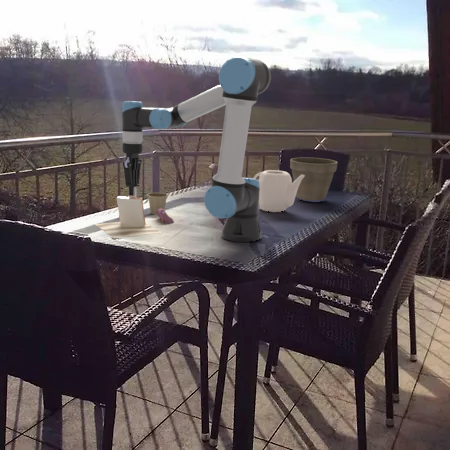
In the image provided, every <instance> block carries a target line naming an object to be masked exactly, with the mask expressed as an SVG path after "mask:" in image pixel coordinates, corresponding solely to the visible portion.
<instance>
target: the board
mask: <svg viewBox="0 0 450 450" xmlns="http://www.w3.org/2000/svg"><path fill="white" fill-rule="evenodd" d="M94 225H95V226H96V227H97V228H99V229H100V230H101V231H103V232H104V233H106V234H107V235H108V236H111V237H110V238H111V239H112V240H113V241H114V240H115V241H116V239H118V240H120V238H127V237H135V236H145V235H153V234H162V232H161V231H160V230H158V229H156V228H154V227H152V226H151V225H149V224H147V223H146V225H145V226H144V227H141V226H131V225H121V223H120V221H115V222H104V223H95V224H94Z"/></svg>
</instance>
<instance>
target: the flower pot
mask: <svg viewBox="0 0 450 450" xmlns="http://www.w3.org/2000/svg"><path fill="white" fill-rule="evenodd" d="M146 196H147V199H148V203H149V204H148V205H149V212H150V214H151V215H154V216H156V214H157V212H156V210H158V209H164V210H165V211H166V203H167V199H168V196H169V194H168V193H164V192H149V193H147V194H146Z"/></svg>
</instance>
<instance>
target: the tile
mask: <svg viewBox="0 0 450 450" xmlns="http://www.w3.org/2000/svg"><path fill="white" fill-rule="evenodd" d="M143 200H144V199H143V197H137V198H135V197H129V196H122V195H118V196H117V197H116V202H117V208H118V215H119V222H120V223H121V225H131V226H141V227H144V226H145V225H146V224H147V223H146V217H145V216H146V215H145V209H144V202H143Z"/></svg>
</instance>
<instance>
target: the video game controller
mask: <svg viewBox="0 0 450 450" xmlns="http://www.w3.org/2000/svg"><path fill="white" fill-rule="evenodd" d="M156 212H157V214H156V215H155V216H156V217H159V219H160V220H161V222H163V223H166V224H173V223H175V221H174V219H173V218H172V217H171V216H170V215H168V214H167V212H166V209H165V210H164V209H158V210H156Z"/></svg>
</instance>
